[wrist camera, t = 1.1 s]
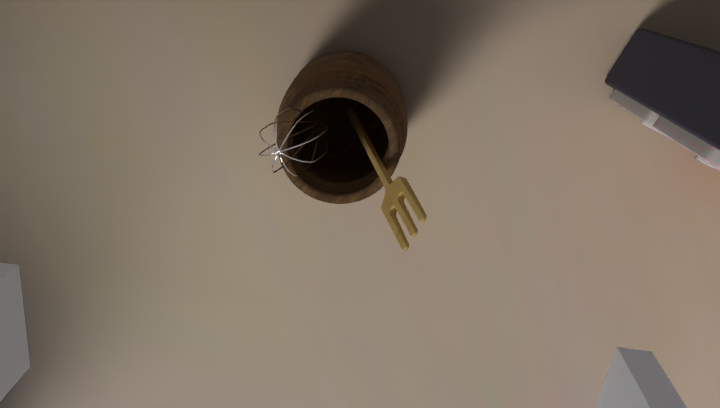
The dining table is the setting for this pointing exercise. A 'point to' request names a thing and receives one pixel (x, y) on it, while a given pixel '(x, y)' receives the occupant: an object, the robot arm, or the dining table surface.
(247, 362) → the dining table surface
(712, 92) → the black boxy piece
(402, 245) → the utensil holder
